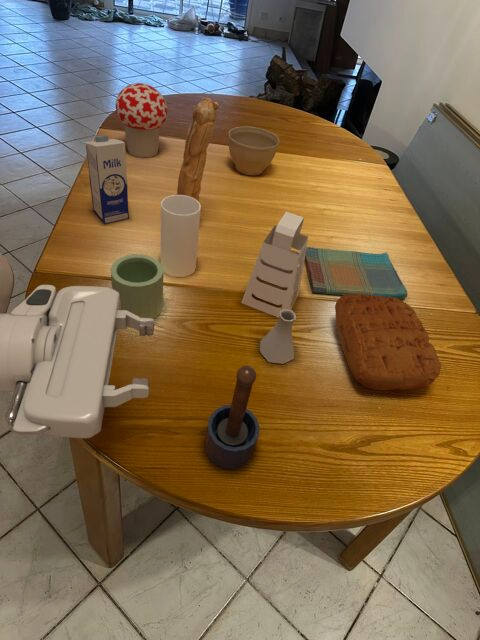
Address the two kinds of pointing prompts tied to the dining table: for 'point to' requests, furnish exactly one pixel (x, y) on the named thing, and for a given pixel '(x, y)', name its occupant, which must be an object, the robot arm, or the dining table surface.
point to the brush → (237, 410)
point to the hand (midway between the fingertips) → (151, 355)
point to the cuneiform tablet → (385, 343)
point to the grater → (278, 266)
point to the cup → (179, 234)
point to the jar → (139, 284)
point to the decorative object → (141, 117)
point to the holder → (227, 454)
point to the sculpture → (196, 148)
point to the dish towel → (352, 273)
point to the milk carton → (108, 178)
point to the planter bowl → (252, 149)
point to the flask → (279, 339)
